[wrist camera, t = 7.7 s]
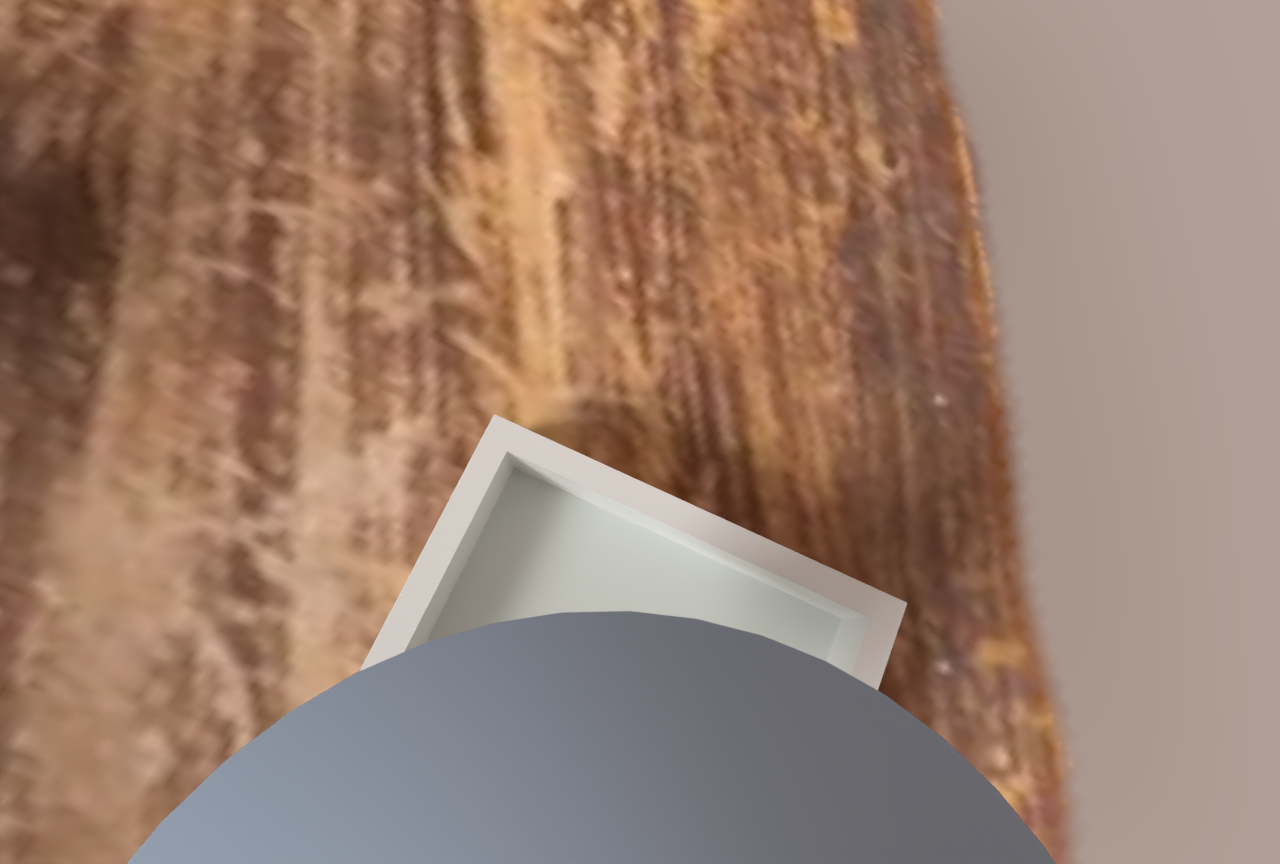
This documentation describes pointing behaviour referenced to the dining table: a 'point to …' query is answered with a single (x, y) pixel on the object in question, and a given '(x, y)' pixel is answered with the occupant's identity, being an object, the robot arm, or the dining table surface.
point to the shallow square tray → (619, 561)
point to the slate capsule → (597, 761)
